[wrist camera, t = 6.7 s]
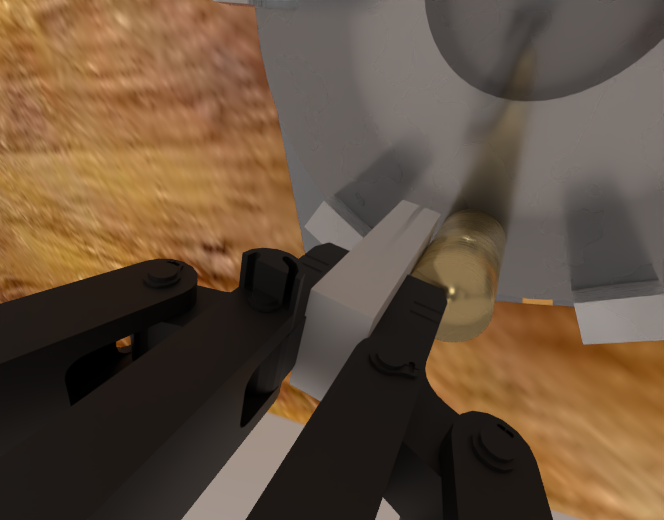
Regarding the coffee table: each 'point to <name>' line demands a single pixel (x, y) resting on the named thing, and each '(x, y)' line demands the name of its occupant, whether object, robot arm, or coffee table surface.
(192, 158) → the coffee table surface
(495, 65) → the grey metal round disc
